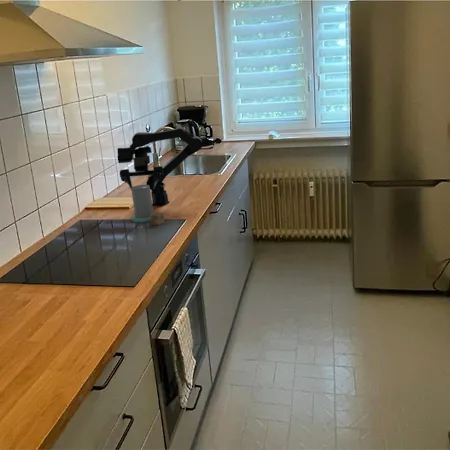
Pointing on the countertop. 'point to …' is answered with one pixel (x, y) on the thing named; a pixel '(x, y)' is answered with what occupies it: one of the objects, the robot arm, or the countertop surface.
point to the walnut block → (156, 218)
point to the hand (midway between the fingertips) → (142, 190)
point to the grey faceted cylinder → (142, 201)
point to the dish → (140, 219)
